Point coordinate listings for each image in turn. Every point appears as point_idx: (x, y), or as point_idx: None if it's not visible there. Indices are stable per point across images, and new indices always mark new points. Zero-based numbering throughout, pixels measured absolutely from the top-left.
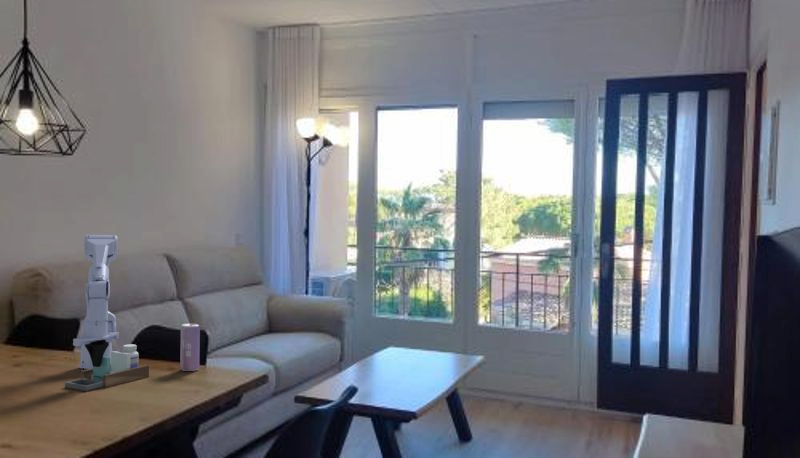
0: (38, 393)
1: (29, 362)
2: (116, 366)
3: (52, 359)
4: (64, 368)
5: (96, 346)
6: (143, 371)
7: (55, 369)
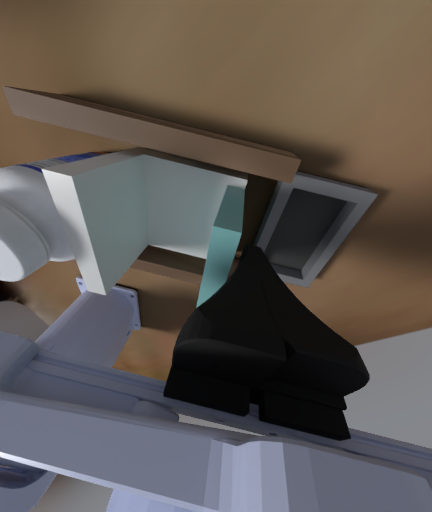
0: (374, 298)
1: (158, 376)
2: (137, 228)
3: (128, 365)
4: (155, 340)
5: (361, 362)
6: (65, 98)
7: (169, 346)
